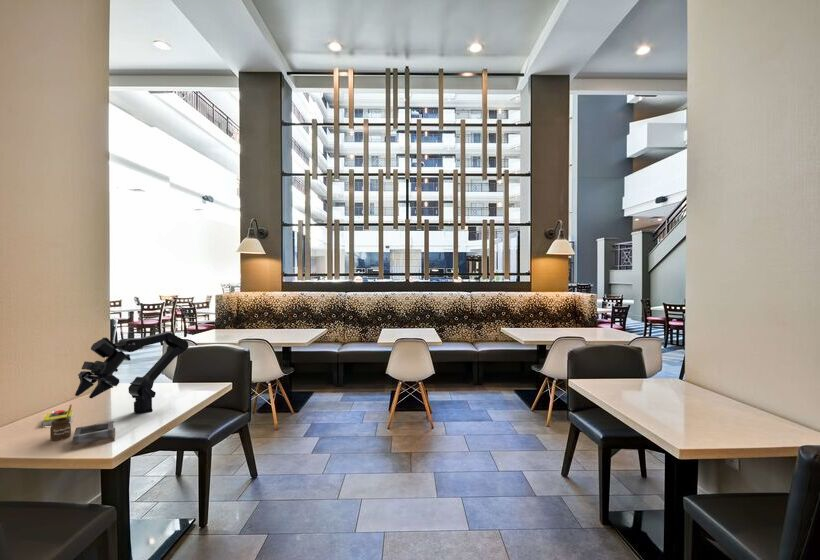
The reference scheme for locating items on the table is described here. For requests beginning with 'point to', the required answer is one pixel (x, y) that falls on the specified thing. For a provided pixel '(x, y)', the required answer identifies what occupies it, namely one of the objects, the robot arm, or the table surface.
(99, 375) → the robot arm
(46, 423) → the emergency button
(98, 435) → the pocket plate
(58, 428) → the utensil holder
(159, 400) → the table surface
